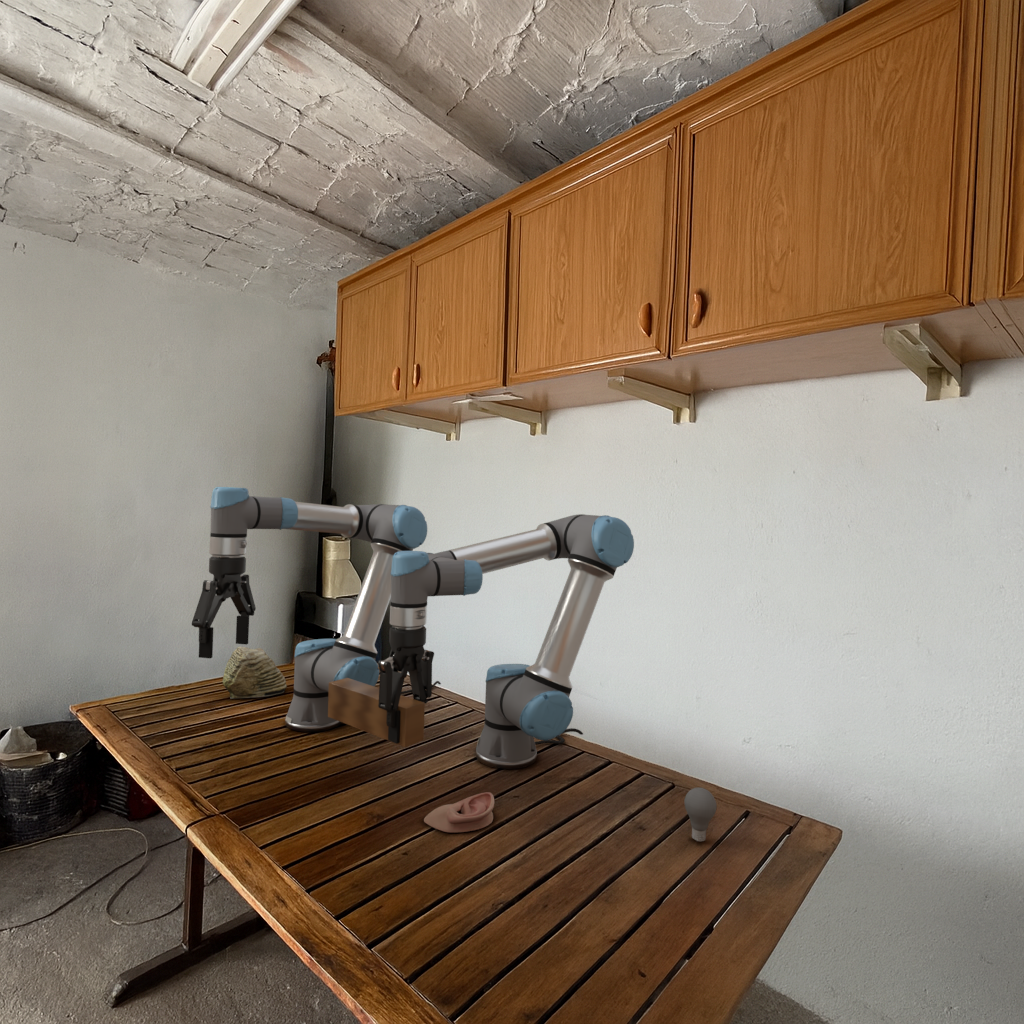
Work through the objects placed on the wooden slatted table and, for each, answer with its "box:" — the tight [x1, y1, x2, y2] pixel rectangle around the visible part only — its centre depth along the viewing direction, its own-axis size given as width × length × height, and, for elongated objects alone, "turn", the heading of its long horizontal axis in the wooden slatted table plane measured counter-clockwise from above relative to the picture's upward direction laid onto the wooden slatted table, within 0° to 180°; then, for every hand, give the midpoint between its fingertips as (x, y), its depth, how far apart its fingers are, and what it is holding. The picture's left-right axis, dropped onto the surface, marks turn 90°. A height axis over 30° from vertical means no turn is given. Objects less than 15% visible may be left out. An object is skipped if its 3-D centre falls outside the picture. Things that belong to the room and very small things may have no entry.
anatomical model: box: [423, 791, 495, 834], centre depth 127 cm, size 13×4×12 cm
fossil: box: [222, 646, 288, 699], centre depth 198 cm, size 9×18×15 cm, turn 132°
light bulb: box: [683, 787, 718, 842], centre depth 123 cm, size 6×6×10 cm
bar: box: [328, 678, 426, 748], centre depth 137 cm, size 26×5×8 cm, turn 52°
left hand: (224, 650), depth 142 cm, fingers open, 13 cm apart
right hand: (404, 737), depth 131 cm, fingers closed on bar, 5 cm apart
